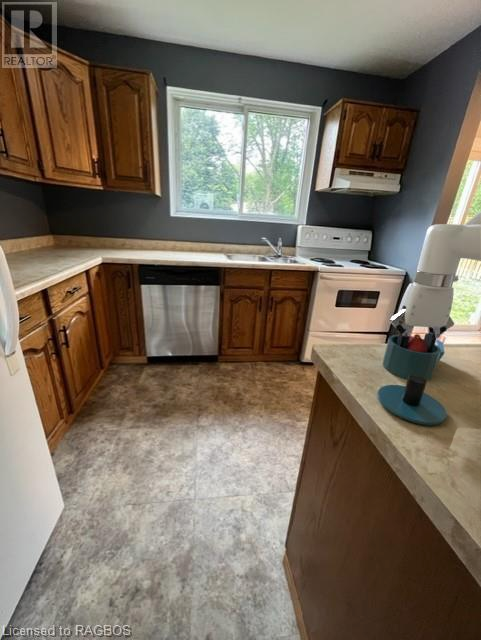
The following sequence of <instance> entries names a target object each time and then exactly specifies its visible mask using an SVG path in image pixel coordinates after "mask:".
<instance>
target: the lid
mask: <svg viewBox="0 0 481 640" xmlns="http://www.w3.org/2000/svg"><path fill="white" fill-rule="evenodd" d="M427 384H428V381H426V380H425V379H424V378H422V377H420V376H417V375H409V376H408V379H406V383H405V385H399V384H387V385H386V384H385V385H383V386H381V387H380V388H379V389H378V391H377V395H376V397H377V400H378V402H379V403H380V404H381V405H382V406H383V407H384V408H385V409H386V410H387V411H388V412H390V413H391V414H393V415H395V416H397V417H399V418H400V419H403V420H405V421H409V422H412V423H415V424H418V425H426V426H435V425H440V424H442V423H444V421H445V420H446V418H447V410H446V409H445V407H444V405H442V403H441V402H439V401H438V400H437V399H436V398H434V396H433V397H432V396H431V395H430V394H427V393H425V389H426V386H427Z"/></svg>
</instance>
